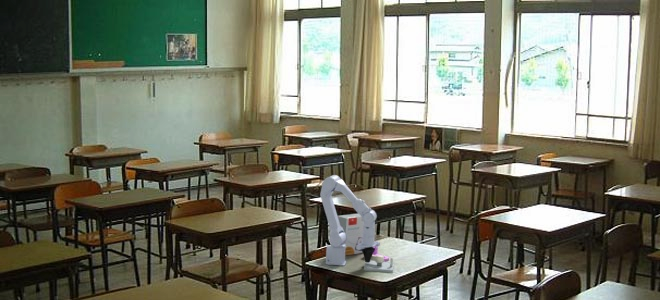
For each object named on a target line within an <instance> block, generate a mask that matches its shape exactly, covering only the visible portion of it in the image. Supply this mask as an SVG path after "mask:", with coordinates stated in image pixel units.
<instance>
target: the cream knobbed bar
mask: <svg viewBox="0 0 660 300" xmlns="http://www.w3.org/2000/svg"><path fill="white" fill-rule="evenodd" d="M381 255H382V254H379V255H377V256H376V255H372V257H371V260H370V261H375V262H376V263H383V262H385V261H384V256H385V255H383V256H381Z"/></svg>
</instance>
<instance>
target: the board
mask: <svg viewBox="0 0 660 300" xmlns="http://www.w3.org/2000/svg"><path fill="white" fill-rule="evenodd" d="M389 261H390V262H388V261H384V262H383V263H376V262H375V261H373V260H370V262H369V263H367V262H365V264H364V267H363V271H366V272H367V271H368V272H381V273H391V274H392V273H393V272H394V268H395V262H394V257H390V259H389Z"/></svg>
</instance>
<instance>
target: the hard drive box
mask: <svg viewBox="0 0 660 300" xmlns="http://www.w3.org/2000/svg"><path fill="white" fill-rule="evenodd" d="M337 216H338V220H339V223H340V226H341V227H342V228H343V230H344V232H345V233H346V235H347V240H346V242H345V245H346V246H345V256H351V255H355V254H356V255H358V254H363V252H362V250H361V249H360V250H357V249H356V246H357V245H360V244H362V243H363V226H364V222H363V220H362V216H360V215H359V213H351V214H343V215H341V214H340V215H337Z"/></svg>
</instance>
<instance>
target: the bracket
mask: <svg viewBox="0 0 660 300" xmlns="http://www.w3.org/2000/svg"><path fill="white" fill-rule="evenodd" d="M378 247H379V246H375V247H373V248H375V251H374V252H373V254H372V255H376V256H377V255H381V256H384V262H388V261H390V257H389V256H386V255H382V254H379V253H378V249H379V248H378Z"/></svg>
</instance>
